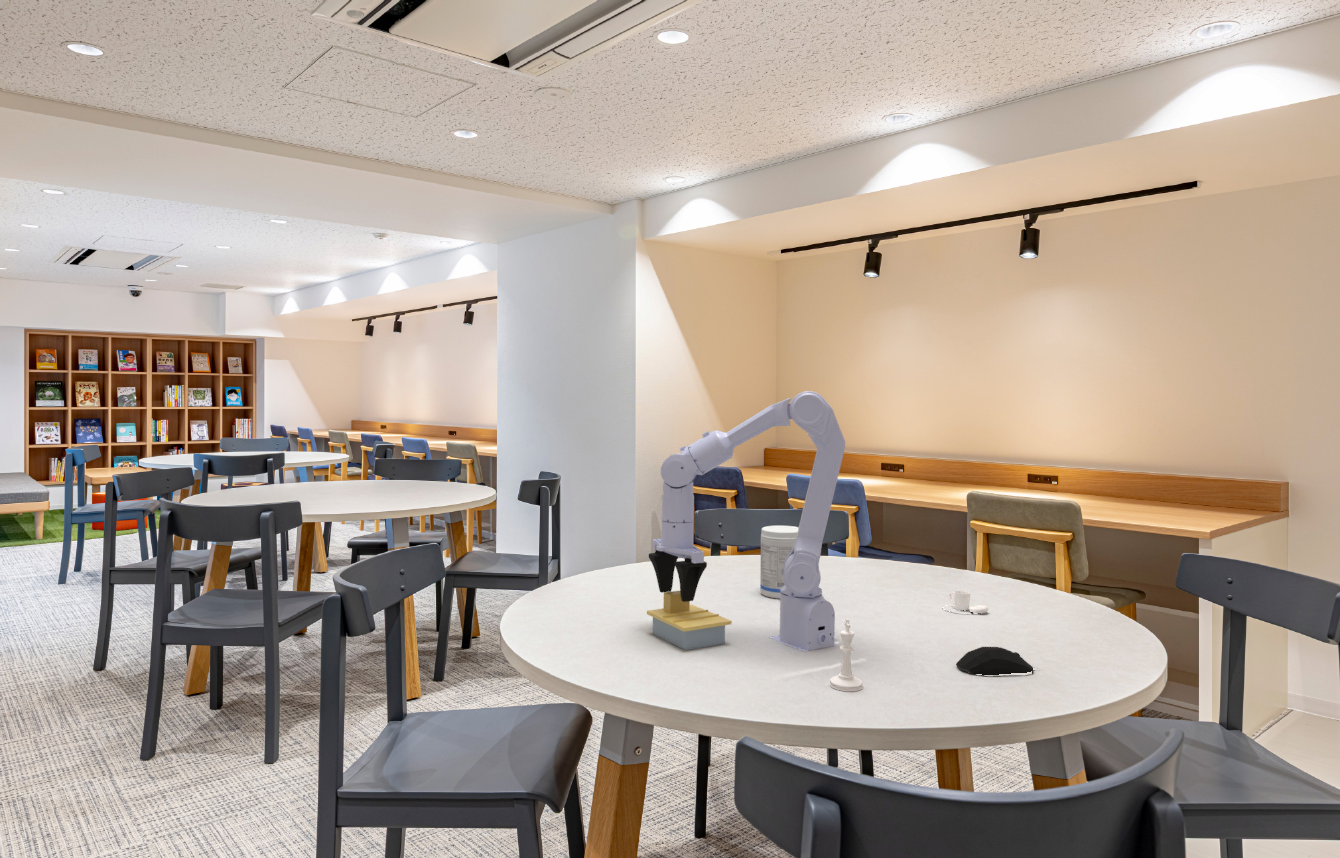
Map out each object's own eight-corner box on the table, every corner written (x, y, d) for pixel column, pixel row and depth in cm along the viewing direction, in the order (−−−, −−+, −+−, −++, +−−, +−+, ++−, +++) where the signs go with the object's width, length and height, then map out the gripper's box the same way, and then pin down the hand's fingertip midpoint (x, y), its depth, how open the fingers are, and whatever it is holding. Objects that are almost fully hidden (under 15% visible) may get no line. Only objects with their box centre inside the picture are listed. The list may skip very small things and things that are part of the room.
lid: (731, 624, 138) (731, 602, 138) (684, 631, 133) (684, 608, 133) (692, 607, 149) (692, 587, 149) (646, 614, 144) (647, 593, 144)
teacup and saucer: (994, 616, 163) (994, 596, 163) (963, 619, 160) (963, 599, 160) (963, 605, 171) (964, 586, 171) (933, 608, 168) (934, 589, 168)
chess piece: (858, 680, 123) (859, 615, 122) (867, 691, 118) (868, 624, 117) (825, 680, 122) (827, 615, 122) (833, 691, 117) (835, 623, 117)
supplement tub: (780, 587, 184) (782, 523, 184) (812, 595, 177) (814, 529, 176) (750, 593, 178) (751, 527, 177) (782, 602, 170) (783, 533, 170)
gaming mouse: (1059, 679, 126) (1060, 653, 126) (966, 679, 125) (966, 653, 125) (1039, 666, 132) (1039, 642, 132) (950, 665, 131) (950, 641, 131)
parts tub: (724, 646, 138) (725, 623, 138) (685, 653, 134) (685, 629, 134) (690, 630, 148) (690, 609, 148) (652, 636, 144) (652, 614, 144)
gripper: (638, 516, 148) (637, 590, 148) (680, 527, 136) (678, 607, 136) (671, 514, 152) (670, 586, 152) (714, 525, 139) (713, 603, 140)
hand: (676, 596), depth 144 cm, fingers open, 7 cm apart
